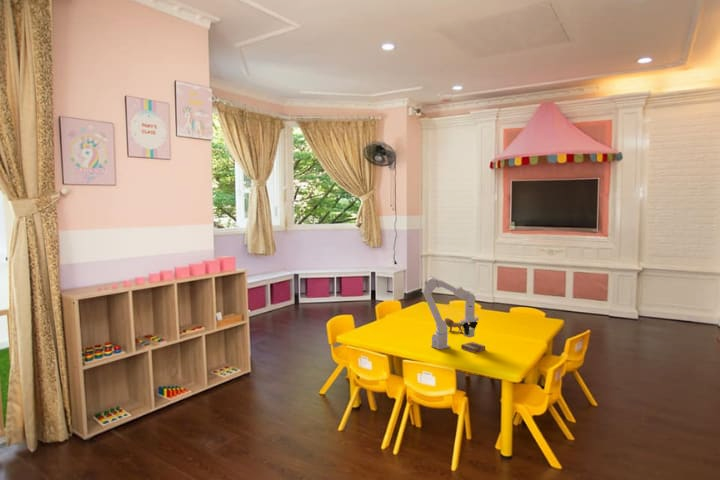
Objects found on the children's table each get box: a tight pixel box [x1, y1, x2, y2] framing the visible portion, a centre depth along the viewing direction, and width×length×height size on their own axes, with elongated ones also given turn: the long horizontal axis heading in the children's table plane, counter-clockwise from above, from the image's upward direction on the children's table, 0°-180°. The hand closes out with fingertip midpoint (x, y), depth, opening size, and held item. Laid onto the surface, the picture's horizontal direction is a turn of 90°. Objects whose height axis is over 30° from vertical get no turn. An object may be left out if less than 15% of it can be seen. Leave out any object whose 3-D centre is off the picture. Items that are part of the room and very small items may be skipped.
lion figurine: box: [444, 317, 464, 334], centre depth 310 cm, size 15×5×9 cm, turn 67°
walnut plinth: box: [460, 341, 486, 354], centre depth 273 cm, size 10×10×3 cm
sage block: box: [463, 327, 476, 338], centre depth 276 cm, size 4×4×5 cm
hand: (469, 333), depth 276 cm, fingers closed on sage block, 4 cm apart
